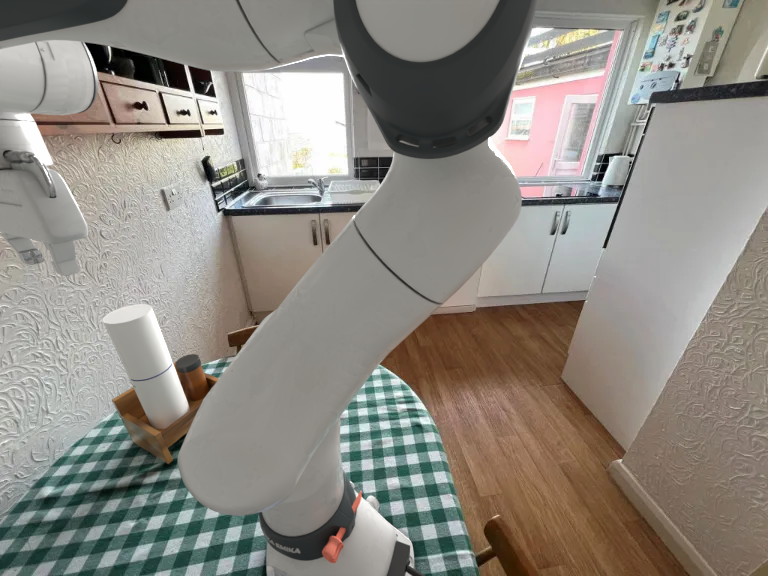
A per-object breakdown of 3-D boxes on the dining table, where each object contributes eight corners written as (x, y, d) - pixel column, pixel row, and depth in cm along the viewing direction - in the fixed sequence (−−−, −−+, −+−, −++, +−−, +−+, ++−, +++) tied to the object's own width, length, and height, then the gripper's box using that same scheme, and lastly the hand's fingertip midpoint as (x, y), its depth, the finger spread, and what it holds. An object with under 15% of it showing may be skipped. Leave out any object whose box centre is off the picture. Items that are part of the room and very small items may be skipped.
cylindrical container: (171, 431, 63) (125, 325, 52) (141, 426, 64) (91, 321, 53) (197, 405, 69) (161, 305, 58) (169, 400, 70) (130, 302, 60)
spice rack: (234, 407, 75) (220, 358, 68) (168, 464, 62) (142, 409, 55) (201, 392, 79) (184, 345, 73) (133, 442, 66) (106, 389, 60)
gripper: (75, 149, 33) (124, 271, 39) (-4, 150, 41) (46, 251, 47) (-13, 151, 28) (59, 292, 33) (-83, 152, 36) (-16, 265, 42)
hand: (51, 268), depth 40 cm, fingers open, 8 cm apart
